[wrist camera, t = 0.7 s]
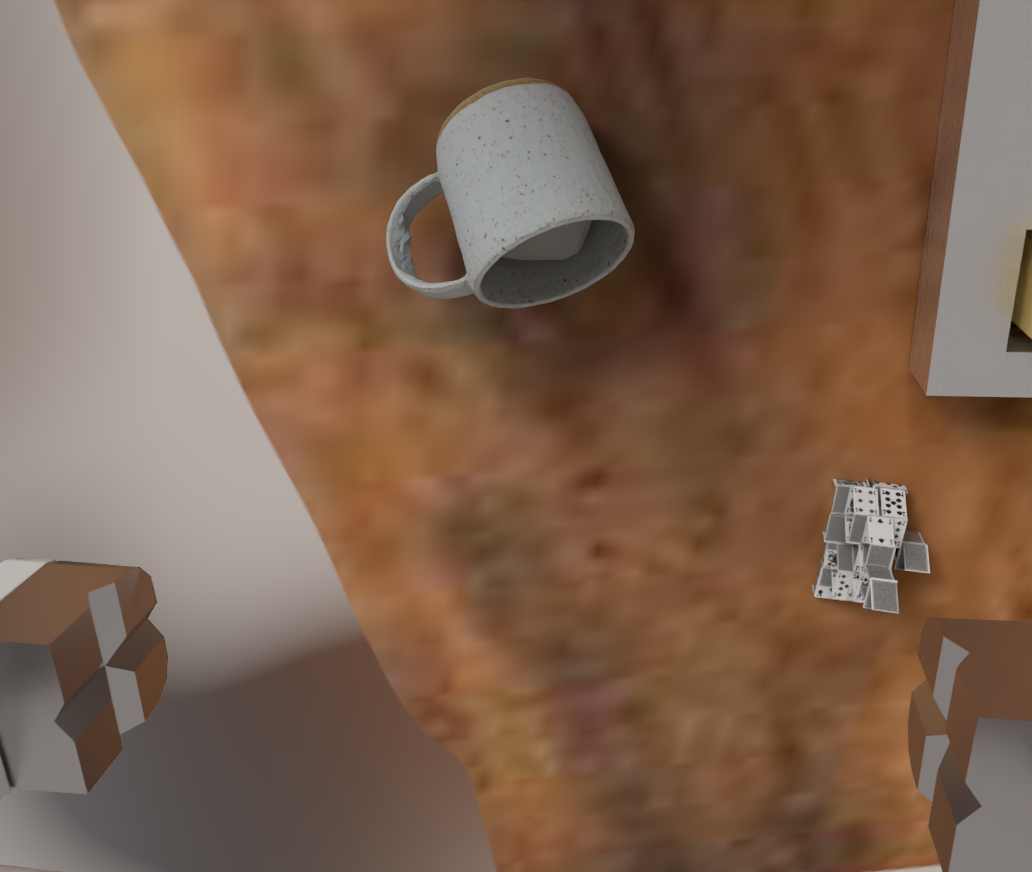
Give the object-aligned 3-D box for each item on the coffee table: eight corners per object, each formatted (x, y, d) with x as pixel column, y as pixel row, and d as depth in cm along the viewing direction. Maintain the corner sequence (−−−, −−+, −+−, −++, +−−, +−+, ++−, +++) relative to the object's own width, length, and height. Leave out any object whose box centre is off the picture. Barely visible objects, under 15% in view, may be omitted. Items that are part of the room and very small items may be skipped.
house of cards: (958, 629, 55) (998, 718, 48) (802, 608, 56) (819, 692, 49) (1000, 490, 51) (1049, 564, 44) (832, 469, 52) (855, 539, 45)
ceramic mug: (569, 138, 49) (579, 39, 41) (626, 279, 47) (648, 203, 40) (368, 200, 48) (342, 111, 41) (419, 347, 46) (401, 282, 39)
